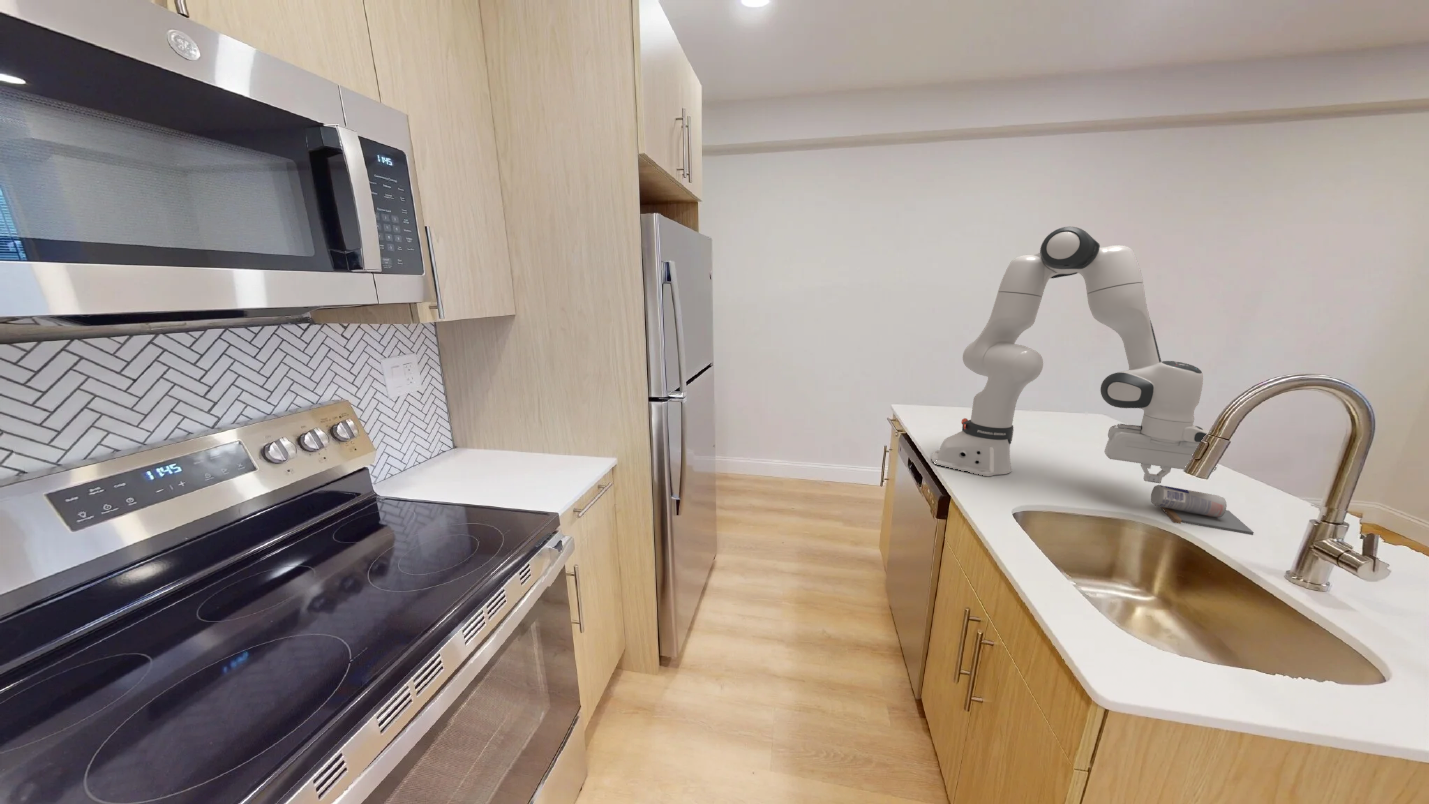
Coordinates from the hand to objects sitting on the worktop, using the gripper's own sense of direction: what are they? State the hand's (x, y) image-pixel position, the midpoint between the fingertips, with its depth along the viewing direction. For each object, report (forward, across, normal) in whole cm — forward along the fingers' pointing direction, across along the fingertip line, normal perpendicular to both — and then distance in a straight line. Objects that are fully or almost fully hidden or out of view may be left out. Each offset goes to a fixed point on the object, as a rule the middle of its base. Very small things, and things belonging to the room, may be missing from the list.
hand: (1151, 481), depth 115 cm
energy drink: (+3, +1, 0) cm, 4 cm away
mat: (+7, +11, +1) cm, 13 cm away
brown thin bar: (+7, +4, 0) cm, 8 cm away
